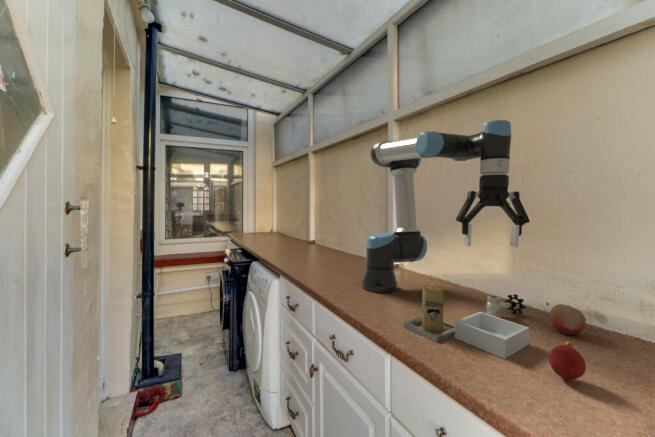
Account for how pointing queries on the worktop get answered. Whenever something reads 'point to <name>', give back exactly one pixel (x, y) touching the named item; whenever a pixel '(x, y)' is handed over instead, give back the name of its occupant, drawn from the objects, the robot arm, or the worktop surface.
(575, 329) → the fruit
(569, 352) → the onion
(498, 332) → the tray
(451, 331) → the collar
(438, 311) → the shoe polish box
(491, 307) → the valve
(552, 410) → the worktop surface
